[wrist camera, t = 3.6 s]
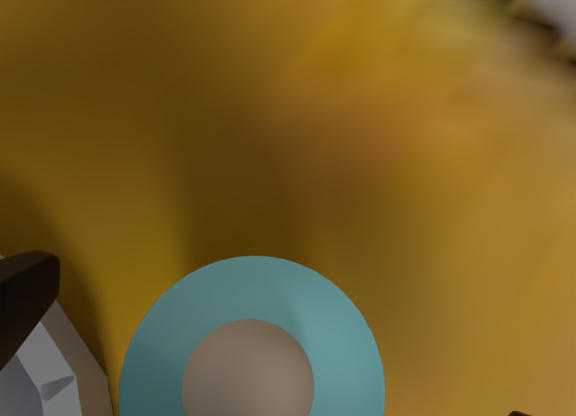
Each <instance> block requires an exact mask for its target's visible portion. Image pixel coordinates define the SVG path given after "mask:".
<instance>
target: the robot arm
mask: <svg viewBox="0 0 576 416" xmlns="http://www.w3.org/2000/svg"><path fill="white" fill-rule="evenodd" d="M59 291H60V259H59V257H58V256H57V255H55V254H52V253H49V252H46V251H43V250H34V251H30V252H26V253H22V254H18V255H15V256H11V257H7V258H3V259H0V371H1V370H2V369H3V368H4V367H5V366H6V365H7V363H8V362H9V361H10V360H11V359H12V357H13V356H14V355H15V354H16V352H17V351H18V350H19V348H20V347H21V346H22V344H23V343H24V342H25V340H26V339H27V338H28V336H29V335H30V334H31V332H32V331H33V330H34V328H35V327H36V326H37V324H38V323H39V322H40V320H41V319H42V318H43V316H44V315H45V314H46V312H47V311H48V310H49V308H50V307H51V306H52V304H53V303H54V302H55V300H56V298H57V297H58V294H59ZM508 416H531V415H528V414H525V413H522V412H519V411H512V412H511V413H510V414H509V415H508Z"/></svg>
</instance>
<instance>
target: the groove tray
mask: <svg viewBox="0 0 576 416" xmlns="http://www.w3.org/2000/svg"><path fill="white" fill-rule="evenodd" d="M3 258H6V257H4V256H3V255H1V254H0V259H3ZM0 416H114V415H113V410H112V404H111V398H110V392H109V386H108V380H107V375H105V373H104V371H103V370H102V368H101V367H100V365H99V364H98V362H97V361H96V359H95V358H94V356H93V355H92V353H91V352H90V350H89V349H88V347H87V346H86V344H85V343H84V341H83V340H82V338H81V337H80V335H79V334H78V332H77V331H76V329H75V328H74V326H73V325H72V323H71V322H70V320H69V318H68V317H67V315H66V314H65V312H64V311H63V309H62V308H61V306H60V305H59V303H58V302H57V300H55V302H54V303H53V304H52V306H51V307H50V308H49V310H48V311H47V312H46V314H45V315H44V316H43V318H42V319H41V320H40V322H39V323H38V324H37V326H36V327H35V328H34V330H33V331H32V332H31V334H30V335H29V336H28V338H27V339H26V340H25V342H24V343H23V344H22V346H21V347H20V348H19V350H18V351H17V352H16V354H15V355H14V356H13V357H12V359H11V360H10V361H9V362H8V363H7V365H6V366H5V367H4V368H3V369H2V370H1V371H0Z"/></svg>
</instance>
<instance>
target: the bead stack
mask: <svg viewBox="0 0 576 416" xmlns="http://www.w3.org/2000/svg"><path fill="white" fill-rule="evenodd" d="M384 407H385V380H384V373H383V367H382V361H381V358H380V354H379V351H378V347H377V344H376V342H375V339H374V337H373V335H372V332H371V330H370V328H369V326H368V325H367V323H366V321H365V319H364V318H363V316H362V314H361V313H360V311H359V310H358V309H357V307H356V306H355V305H354V303H353V302H352V301H351V300H350V299H349V298H348V297H347V296H346V295H345V294H344V293H343V291H342V290H341V289H340V288H338V287H337V286H336V285H335V284H333V283H332V282H331V281H330V280H328V279H327V278H325V277H324V276H322V275H321V274H319V273H317V272H316V271H314V270H312V269H310V268H308V267H305V266H303V265H301V264H299V263H295V262H292V261H289V260H285V259H281V258H275V257H269V256H242V257H234V258H229V259H225V260H220V261H217V262H214V263H212V264H209V265H206V266H204V267H202V268H200V269H198V270H196V271H194V272H192V273H190V274H188V275H187V276H185V277H184V278H182V279H181V280H179V281H178V282H176V283H175V284H174V285H173V286H172V287H170V288H169V289H168V290H167V291H166V292H165V293H163V294H162V296H161V297H160V298H159V299H158V300H157V301H156V302H155V303H154V304H153V305H152V307H151V308H150V309H149V311H148V312H147V314H146V315H145V316H144V318H143V319H142V321H141V322H140V324H139V326H138V328H137V330H136V331H135V333H134V335H133V337H132V340H131V342H130V345H129V347H128V350H127V352H126V355H125V359H124V363H123V367H122V370H121V377H120V384H119V402H118V409H119V416H384Z"/></svg>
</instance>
